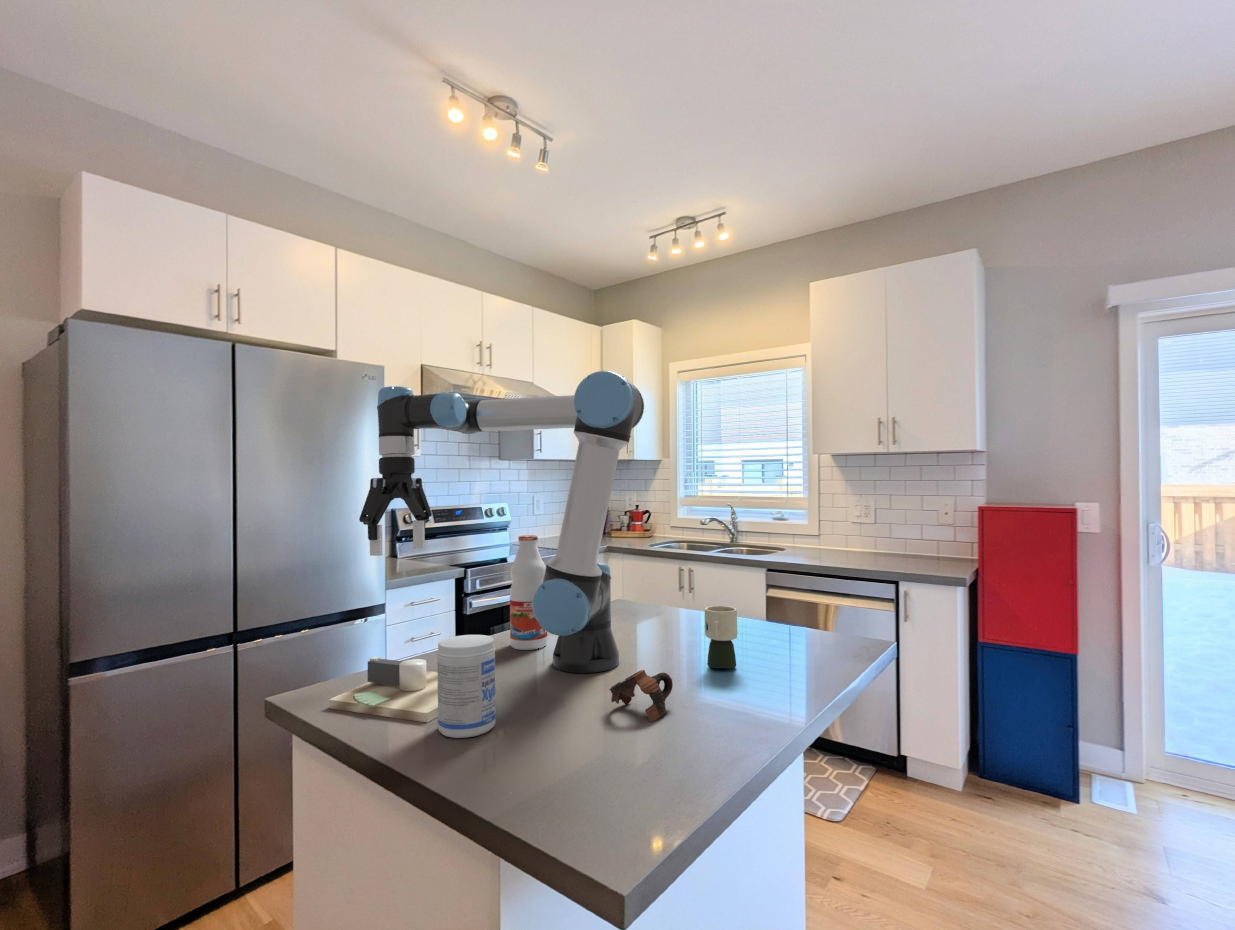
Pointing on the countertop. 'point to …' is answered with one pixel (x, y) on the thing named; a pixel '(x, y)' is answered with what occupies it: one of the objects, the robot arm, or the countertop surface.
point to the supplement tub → (466, 685)
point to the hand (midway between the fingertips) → (398, 552)
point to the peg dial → (398, 673)
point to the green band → (370, 698)
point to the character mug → (721, 635)
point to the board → (394, 700)
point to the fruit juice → (526, 596)
